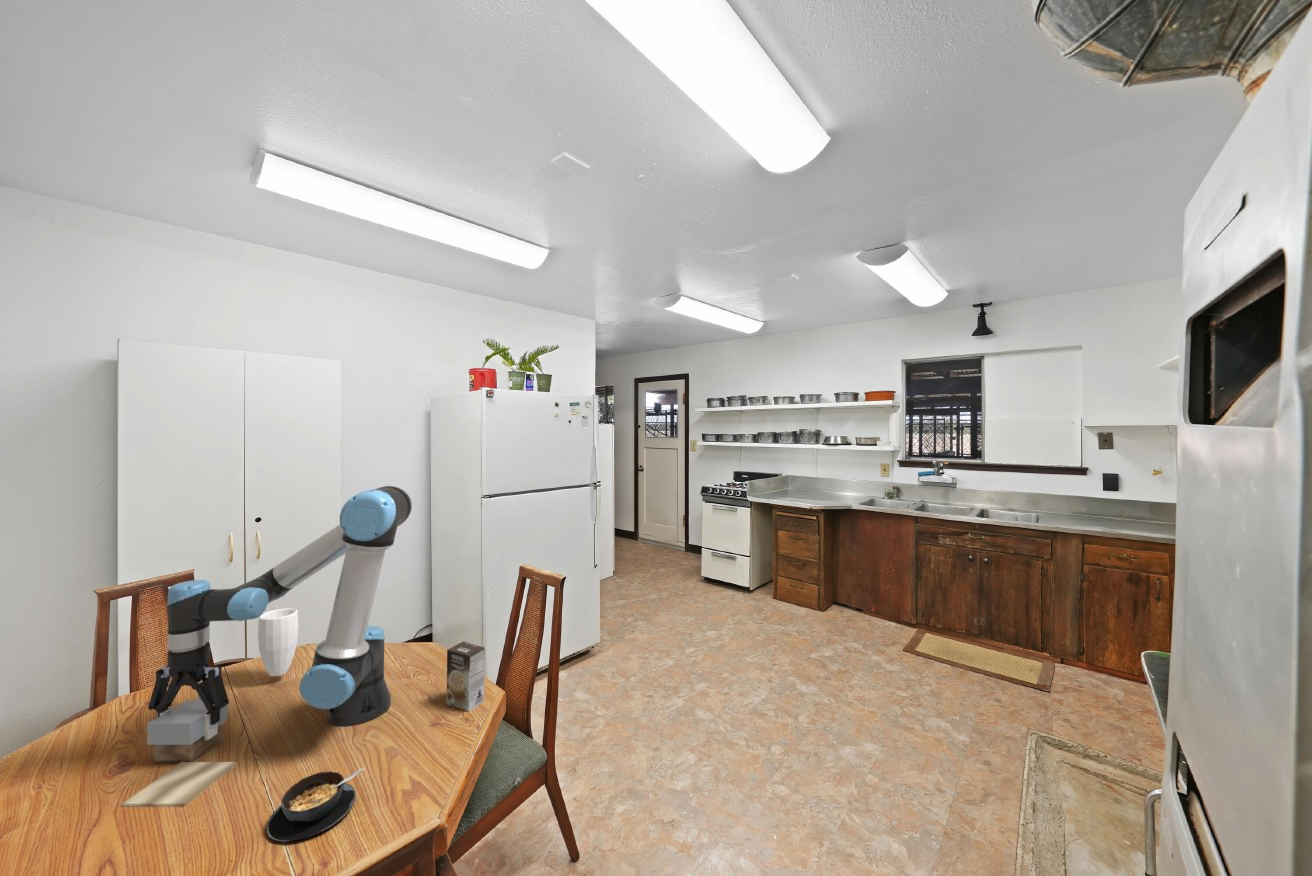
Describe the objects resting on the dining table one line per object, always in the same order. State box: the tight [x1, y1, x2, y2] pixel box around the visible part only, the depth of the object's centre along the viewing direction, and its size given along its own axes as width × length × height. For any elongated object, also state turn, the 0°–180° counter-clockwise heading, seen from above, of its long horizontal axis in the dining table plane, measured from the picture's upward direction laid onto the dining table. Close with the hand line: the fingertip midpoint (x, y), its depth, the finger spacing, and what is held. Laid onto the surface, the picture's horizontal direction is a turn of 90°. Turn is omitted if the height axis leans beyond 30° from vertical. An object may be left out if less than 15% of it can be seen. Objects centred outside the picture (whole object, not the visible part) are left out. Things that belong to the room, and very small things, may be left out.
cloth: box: [121, 761, 238, 807], centre depth 109 cm, size 13×13×1 cm
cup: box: [257, 607, 299, 677], centre depth 154 cm, size 10×10×22 cm
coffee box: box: [446, 641, 486, 712], centre depth 142 cm, size 9×6×16 cm
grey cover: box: [146, 699, 228, 746], centre depth 120 cm, size 10×10×5 cm
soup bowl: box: [265, 767, 366, 842], centre depth 100 cm, size 15×16×7 cm
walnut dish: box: [152, 724, 223, 765], centre depth 120 cm, size 9×9×5 cm
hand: (189, 736), depth 120 cm, fingers closed on grey cover, 10 cm apart
